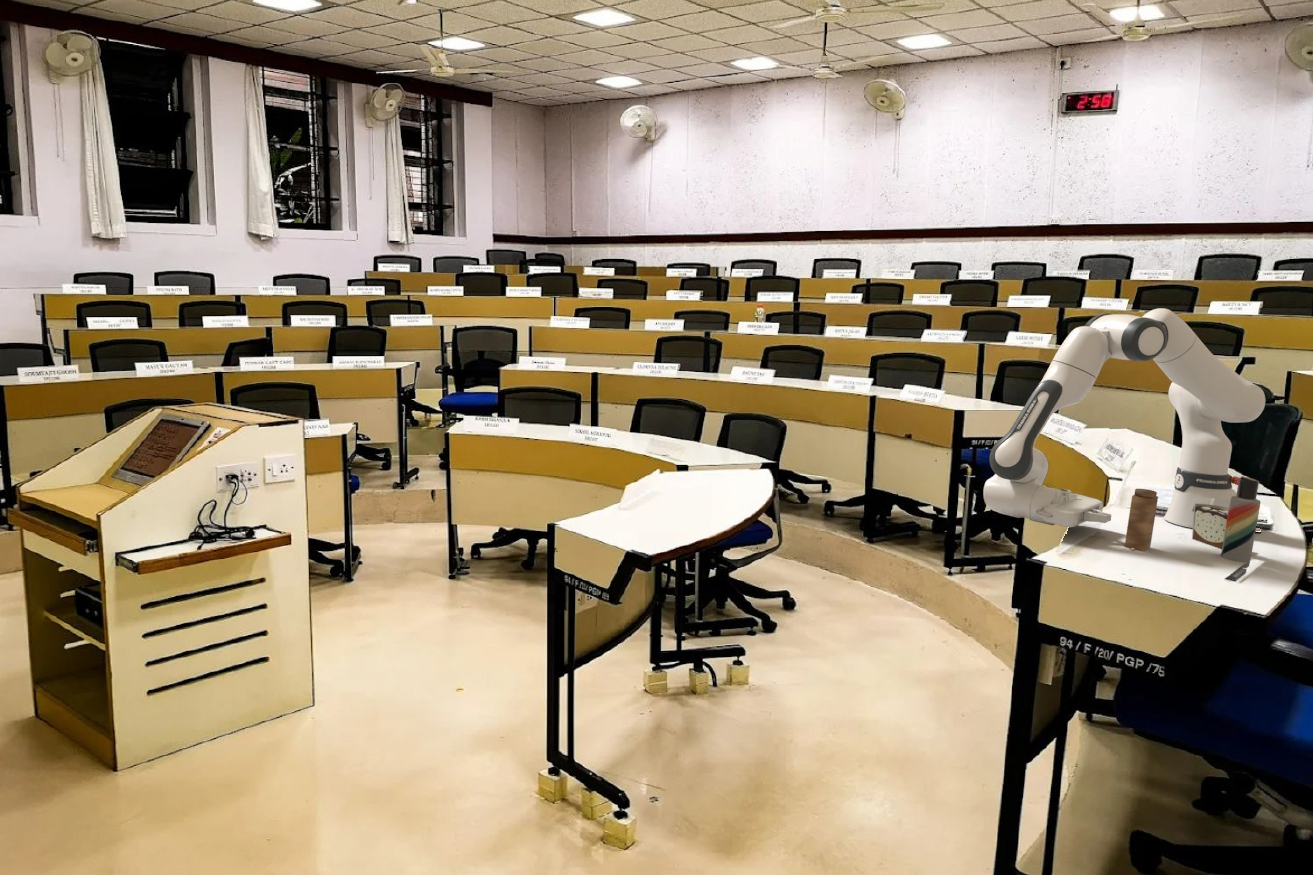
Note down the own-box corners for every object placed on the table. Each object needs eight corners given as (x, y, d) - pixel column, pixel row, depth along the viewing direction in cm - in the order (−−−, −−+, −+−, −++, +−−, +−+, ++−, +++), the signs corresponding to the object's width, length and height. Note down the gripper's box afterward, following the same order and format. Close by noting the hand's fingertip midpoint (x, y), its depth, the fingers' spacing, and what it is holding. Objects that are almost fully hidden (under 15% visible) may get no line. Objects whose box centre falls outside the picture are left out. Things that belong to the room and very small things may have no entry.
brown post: (1121, 547, 214) (1129, 491, 212) (1133, 541, 220) (1141, 486, 218) (1141, 552, 211) (1150, 495, 209) (1153, 546, 217) (1162, 490, 215)
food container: (1251, 557, 218) (1258, 516, 216) (1230, 558, 216) (1237, 516, 214) (1206, 542, 229) (1213, 502, 227) (1186, 543, 227) (1193, 502, 226)
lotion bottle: (1216, 558, 215) (1231, 473, 212) (1244, 562, 214) (1260, 476, 210) (1223, 565, 210) (1238, 478, 206) (1252, 569, 208) (1268, 481, 205)
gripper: (1033, 499, 221) (1094, 512, 212) (1067, 488, 236) (1125, 499, 226) (1030, 525, 222) (1090, 539, 213) (1063, 512, 237) (1121, 525, 227)
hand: (1109, 518), depth 220 cm, fingers closed
